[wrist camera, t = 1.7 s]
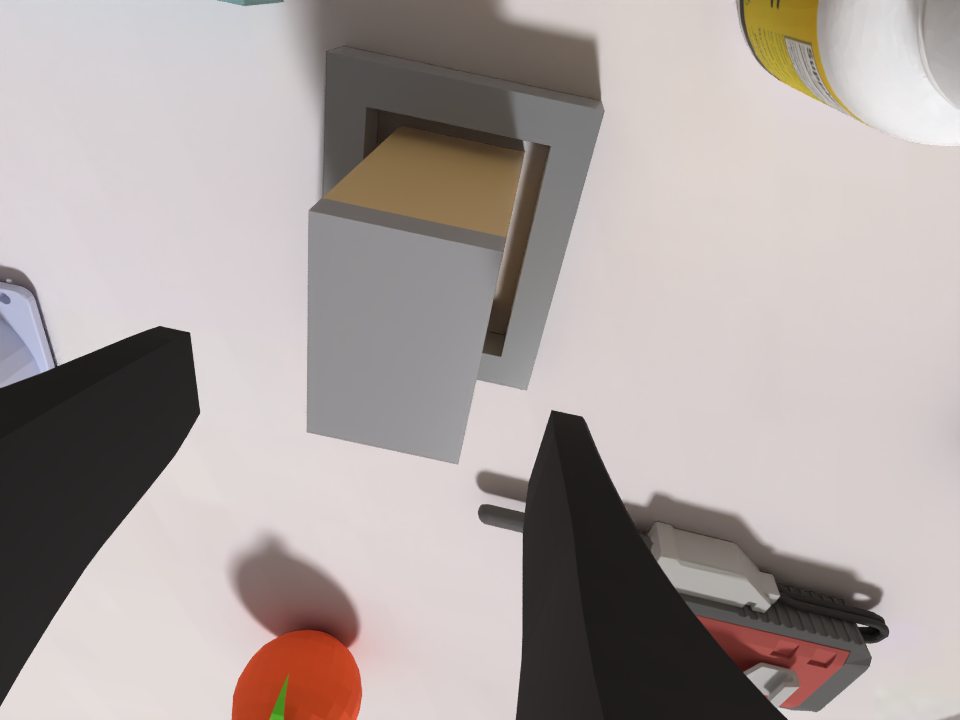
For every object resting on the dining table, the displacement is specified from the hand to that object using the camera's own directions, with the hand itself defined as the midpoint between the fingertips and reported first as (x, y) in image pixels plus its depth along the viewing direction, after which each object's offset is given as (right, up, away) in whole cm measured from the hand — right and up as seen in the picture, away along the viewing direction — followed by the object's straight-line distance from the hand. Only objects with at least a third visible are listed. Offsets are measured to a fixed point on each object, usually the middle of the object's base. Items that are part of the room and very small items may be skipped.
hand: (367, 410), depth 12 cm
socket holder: (+1, +6, +8) cm, 10 cm away
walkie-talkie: (+11, -10, +18) cm, 23 cm away
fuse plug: (+1, +6, +8) cm, 10 cm away
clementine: (-7, -15, +24) cm, 29 cm away
